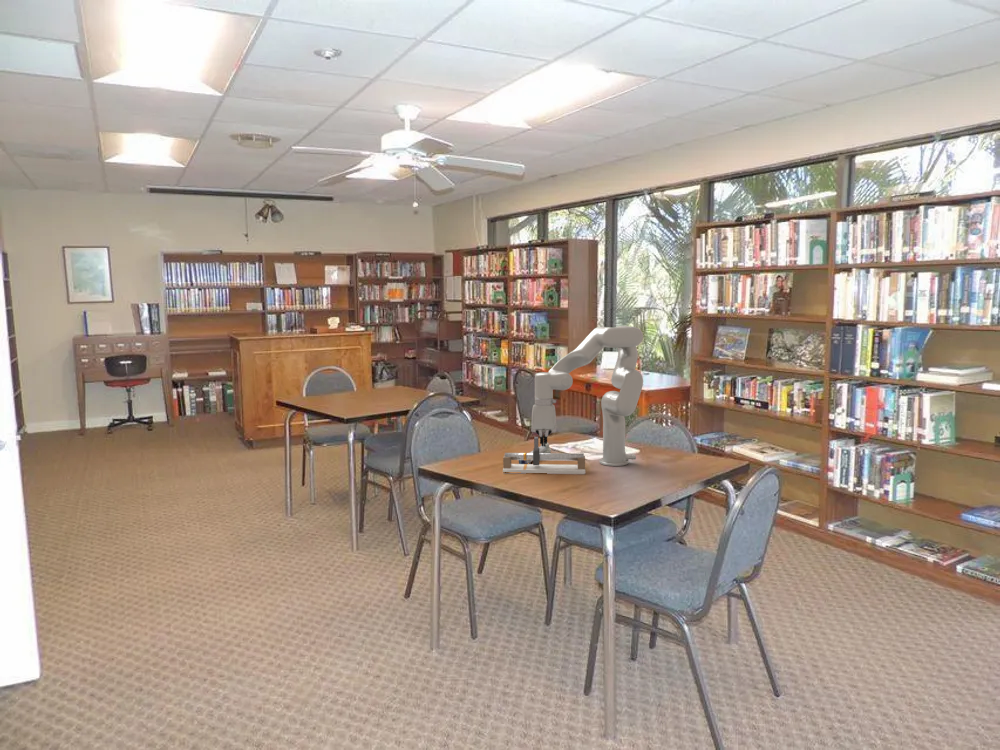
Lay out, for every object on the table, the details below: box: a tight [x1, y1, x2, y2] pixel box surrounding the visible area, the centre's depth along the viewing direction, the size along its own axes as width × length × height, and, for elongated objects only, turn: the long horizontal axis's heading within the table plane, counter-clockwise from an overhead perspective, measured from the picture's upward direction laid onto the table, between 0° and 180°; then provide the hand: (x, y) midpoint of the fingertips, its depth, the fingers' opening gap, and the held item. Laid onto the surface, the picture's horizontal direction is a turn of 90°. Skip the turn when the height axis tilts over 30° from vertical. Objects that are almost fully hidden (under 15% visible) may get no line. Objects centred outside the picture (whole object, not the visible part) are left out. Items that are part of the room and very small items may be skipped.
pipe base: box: [502, 454, 586, 475], centre depth 295 cm, size 34×10×6 cm, turn 85°
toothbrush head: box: [518, 442, 552, 464], centre depth 315 cm, size 5×7×25 cm
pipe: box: [504, 452, 585, 462], centre depth 294 cm, size 33×3×3 cm, turn 85°
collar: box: [532, 436, 540, 465], centre depth 294 cm, size 2×6×11 cm, turn 175°
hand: (543, 445), depth 294 cm, fingers closed
